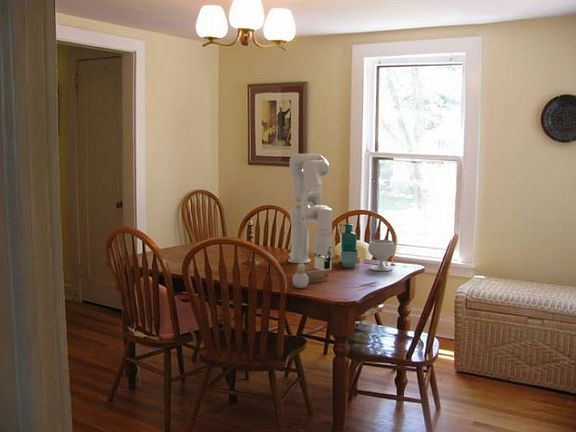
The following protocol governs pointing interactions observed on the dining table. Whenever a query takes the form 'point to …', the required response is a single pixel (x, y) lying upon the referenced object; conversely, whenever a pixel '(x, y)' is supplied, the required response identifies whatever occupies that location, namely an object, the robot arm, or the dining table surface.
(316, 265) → the cream block
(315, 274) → the walnut pedestal
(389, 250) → the chalice
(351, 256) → the flower pot
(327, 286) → the dining table surface
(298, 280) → the perfume bottle
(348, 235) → the pitcher
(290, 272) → the dining table surface
